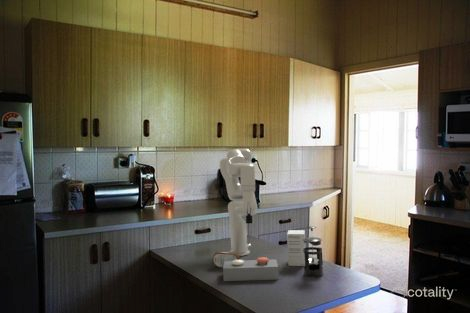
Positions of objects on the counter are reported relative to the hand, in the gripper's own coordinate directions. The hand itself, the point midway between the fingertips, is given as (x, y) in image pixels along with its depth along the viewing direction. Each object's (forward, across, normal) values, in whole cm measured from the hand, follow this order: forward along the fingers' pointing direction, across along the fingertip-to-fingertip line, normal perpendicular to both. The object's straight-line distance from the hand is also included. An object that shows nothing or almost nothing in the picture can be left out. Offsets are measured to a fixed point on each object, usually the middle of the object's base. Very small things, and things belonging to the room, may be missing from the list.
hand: (249, 222), depth 202 cm
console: (+23, +15, 0) cm, 27 cm away
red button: (+20, +15, +6) cm, 25 cm away
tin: (+24, 0, -13) cm, 27 cm away
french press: (+23, +14, +31) cm, 41 cm away
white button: (+20, +15, -6) cm, 26 cm away
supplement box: (+24, -3, +25) cm, 34 cm away
